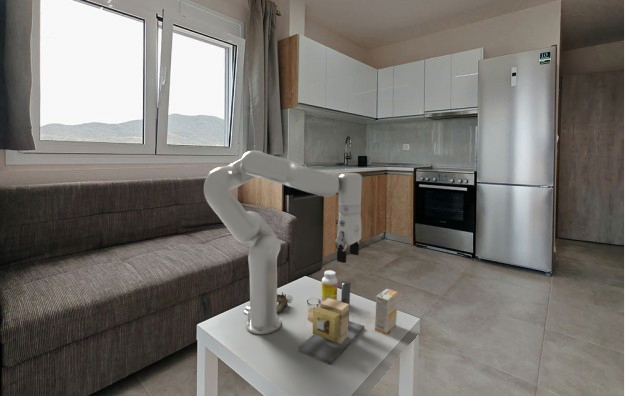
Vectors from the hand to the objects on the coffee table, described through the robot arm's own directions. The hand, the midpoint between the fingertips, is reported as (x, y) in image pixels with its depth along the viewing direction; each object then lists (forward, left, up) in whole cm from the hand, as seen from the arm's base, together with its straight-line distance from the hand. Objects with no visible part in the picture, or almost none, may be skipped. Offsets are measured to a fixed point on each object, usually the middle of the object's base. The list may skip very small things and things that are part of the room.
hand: (348, 258), depth 112 cm
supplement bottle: (-15, +15, -26) cm, 34 cm away
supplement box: (+12, +9, -27) cm, 30 cm away
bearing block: (0, -8, -26) cm, 27 cm away
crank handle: (0, -8, -23) cm, 25 cm away
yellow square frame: (0, -14, -22) cm, 26 cm away
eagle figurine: (-28, -2, -27) cm, 39 cm away
